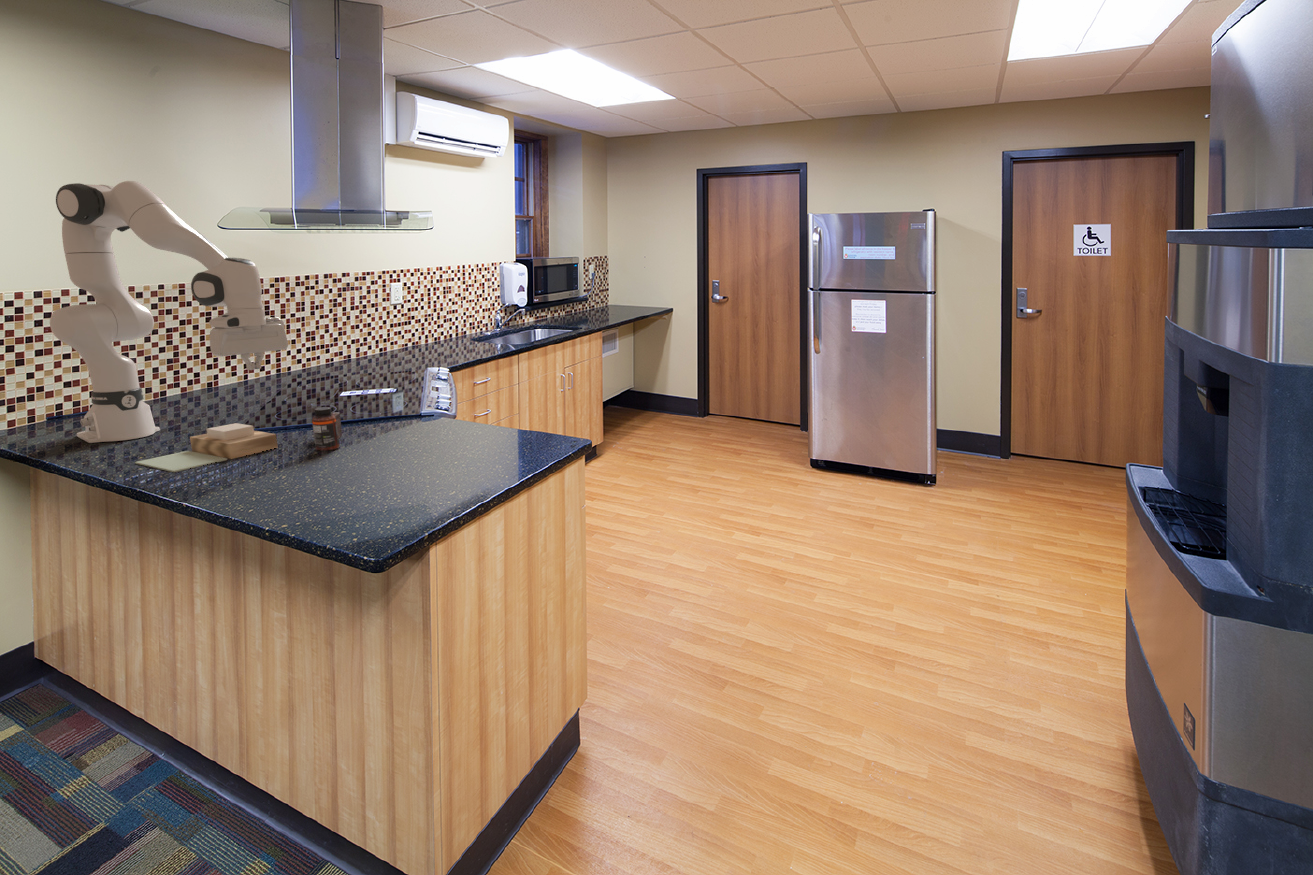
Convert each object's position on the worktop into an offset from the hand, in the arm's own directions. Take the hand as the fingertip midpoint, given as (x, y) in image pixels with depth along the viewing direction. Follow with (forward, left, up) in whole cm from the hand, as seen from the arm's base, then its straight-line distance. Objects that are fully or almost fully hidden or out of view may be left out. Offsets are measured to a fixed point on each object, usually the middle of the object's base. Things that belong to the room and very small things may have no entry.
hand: (254, 369), depth 198 cm
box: (+12, +12, -21) cm, 27 cm away
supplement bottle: (+22, +4, -21) cm, 31 cm away
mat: (0, -22, -21) cm, 31 cm away
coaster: (0, -9, -17) cm, 19 cm away
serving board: (0, -8, -21) cm, 23 cm away
